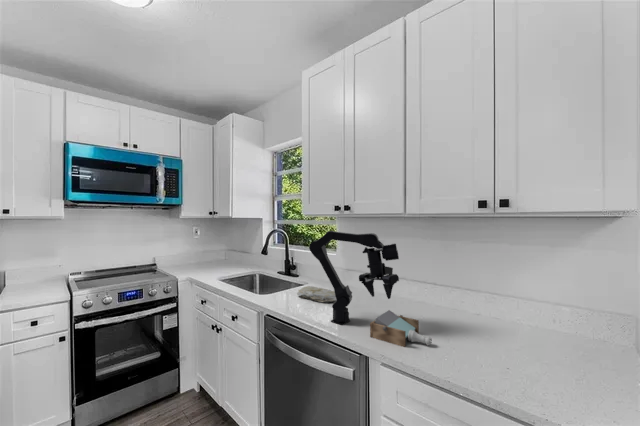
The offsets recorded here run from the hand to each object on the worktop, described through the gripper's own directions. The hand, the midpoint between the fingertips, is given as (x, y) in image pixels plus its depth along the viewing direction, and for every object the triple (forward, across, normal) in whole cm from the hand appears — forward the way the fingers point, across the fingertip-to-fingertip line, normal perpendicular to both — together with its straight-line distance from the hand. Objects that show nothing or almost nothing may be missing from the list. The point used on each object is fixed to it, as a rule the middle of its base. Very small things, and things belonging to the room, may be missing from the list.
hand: (381, 297), depth 126 cm
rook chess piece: (+12, -15, +4) cm, 20 cm away
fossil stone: (+7, +49, -2) cm, 50 cm away
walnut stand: (+13, -8, +5) cm, 16 cm away
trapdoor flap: (+10, -9, +4) cm, 14 cm away
